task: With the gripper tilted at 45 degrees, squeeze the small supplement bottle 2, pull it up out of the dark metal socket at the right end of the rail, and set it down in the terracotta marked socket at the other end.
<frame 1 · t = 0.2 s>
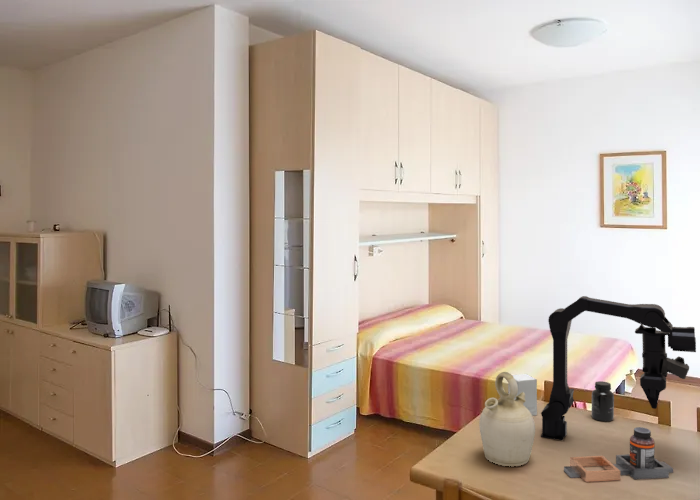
hand: (655, 403, 162), 15 cm above the table, tool pointing down, fingers open, 9 cm apart
supplement bottle: (602, 418, 190), on the table
socket rail: (618, 471, 152), on the table
jug: (506, 458, 162), on the table
supplement box: (522, 413, 197), on the table
supplement bottle 2: (641, 471, 153), resting in socket rail
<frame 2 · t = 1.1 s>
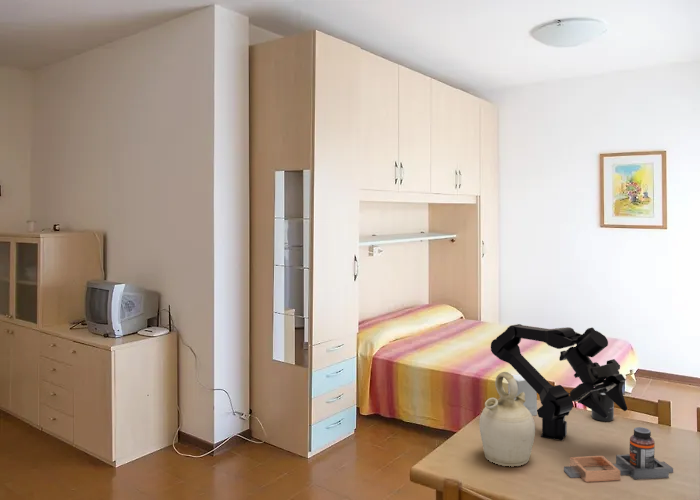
hand: (616, 413, 158), 13 cm above the table, tool tilted 45°, fingers open, 9 cm apart
nothing on the table moved.
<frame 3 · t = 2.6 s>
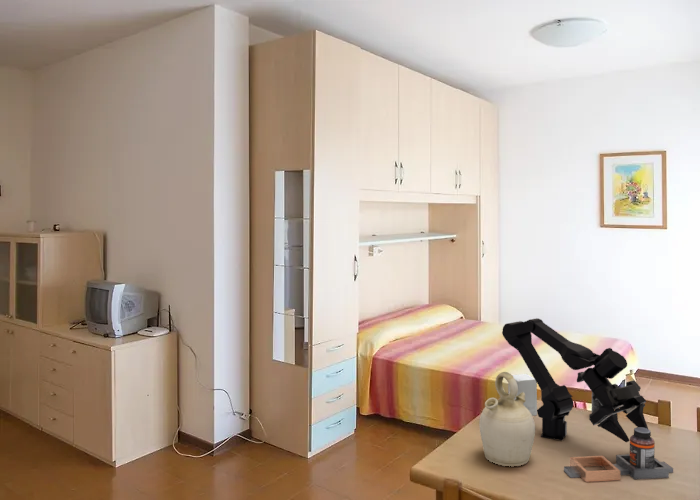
hand: (638, 437, 153), 9 cm above the table, tool tilted 45°, fingers open, 9 cm apart
nothing on the table moved.
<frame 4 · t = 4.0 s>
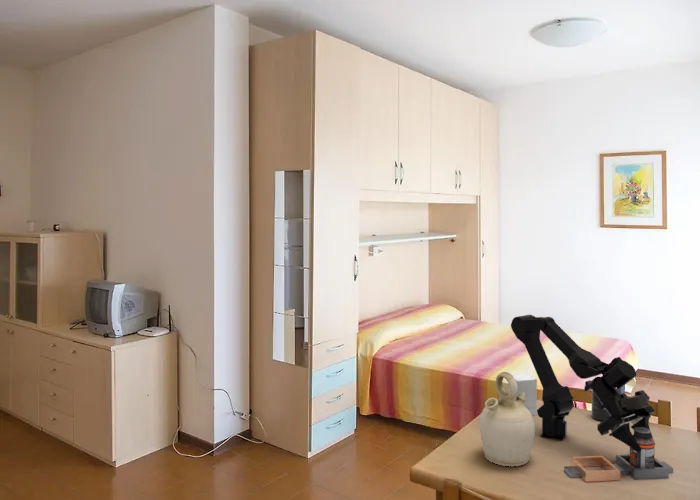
hand: (646, 448, 151), 7 cm above the table, tool tilted 45°, fingers closed on supplement bottle 2, 6 cm apart
supplement bottle 2: (641, 471, 153), resting in socket rail, touching gripper
everything else where it was.
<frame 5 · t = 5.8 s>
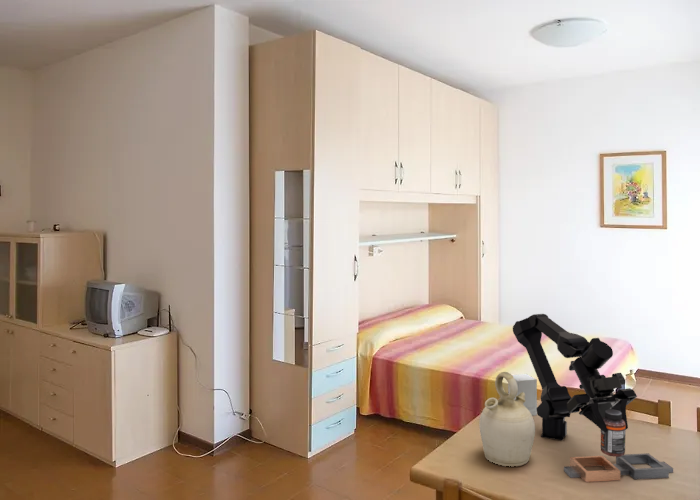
hand: (616, 430, 150), 12 cm above the table, tool tilted 45°, fingers closed on supplement bottle 2, 6 cm apart
supplement bottle 2: (612, 453, 152), point 5 cm above the table, touching gripper
everything else where it was.
when the fingers open (7 cm above the table, at t = 7.8 s): supplement bottle 2 stays where it is, resting in socket rail.
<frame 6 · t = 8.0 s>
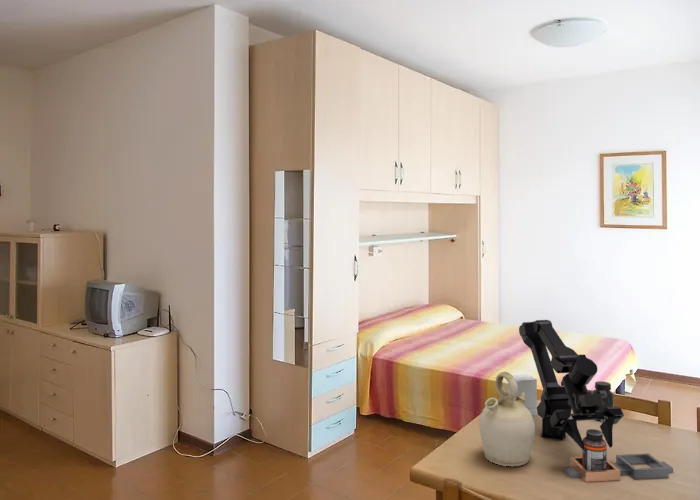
hand: (597, 447, 150), 8 cm above the table, tool tilted 45°, fingers open, 7 cm apart
supplement bottle 2: (594, 473, 152), resting in socket rail
everything else where it was.
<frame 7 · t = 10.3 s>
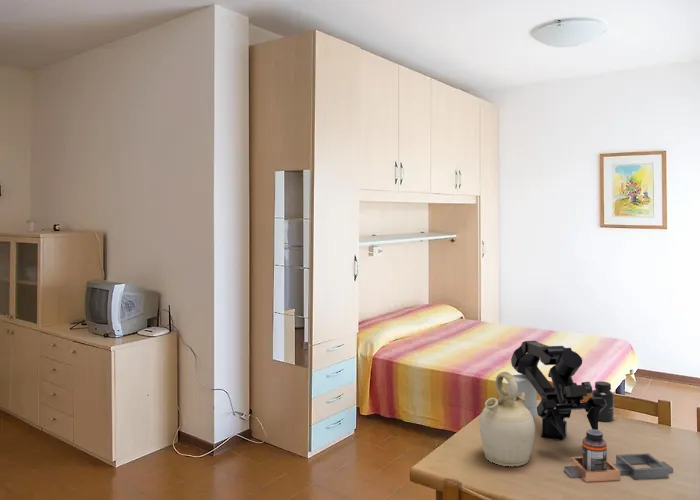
hand: (580, 435, 159), 7 cm above the table, tool tilted 45°, fingers open, 9 cm apart
supplement box: (522, 413, 197), on the table, touching arm
everything else where it was.
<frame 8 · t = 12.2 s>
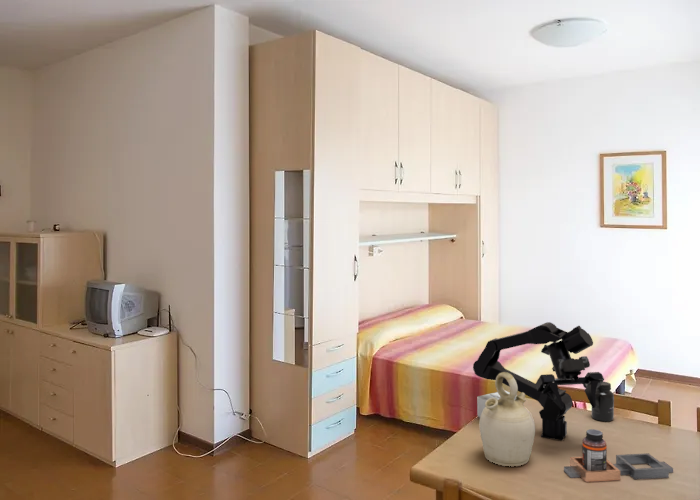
hand: (578, 408, 162), 14 cm above the table, tool tilted 45°, fingers open, 9 cm apart
supplement box: (513, 402, 197), point 4 cm above the table
everything else where it was.
at the end: supplement bottle 2 0.1 cm from the target spot, resting in socket rail; supplement bottle 2 tilted 0°; the gripper is holding nothing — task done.
